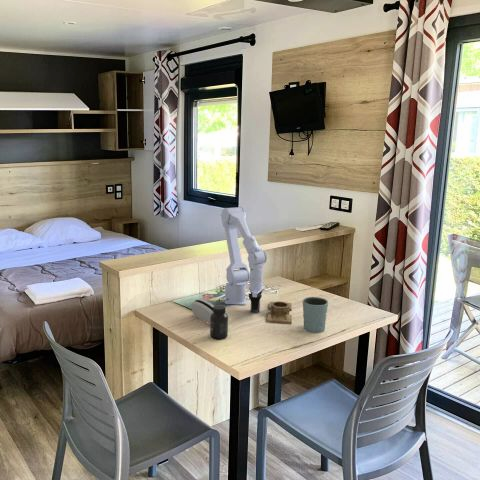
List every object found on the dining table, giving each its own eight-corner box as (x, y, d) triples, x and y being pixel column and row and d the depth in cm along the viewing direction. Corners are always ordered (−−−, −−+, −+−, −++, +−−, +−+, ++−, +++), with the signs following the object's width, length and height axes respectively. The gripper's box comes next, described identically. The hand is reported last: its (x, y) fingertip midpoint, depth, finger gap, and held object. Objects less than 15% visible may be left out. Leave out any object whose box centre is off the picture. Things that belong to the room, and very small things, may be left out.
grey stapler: (226, 324, 201) (220, 304, 197) (218, 330, 199) (211, 310, 195) (202, 312, 214) (196, 293, 209) (194, 318, 211) (187, 299, 207)
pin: (248, 313, 214) (249, 296, 213) (249, 309, 219) (250, 292, 218) (260, 314, 214) (261, 297, 212) (261, 309, 219) (262, 293, 217)
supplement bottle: (207, 334, 191) (207, 305, 188) (222, 331, 194) (223, 303, 191) (214, 341, 185) (215, 311, 182) (230, 338, 188) (231, 308, 186)
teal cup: (331, 331, 198) (333, 303, 195) (310, 335, 193) (312, 306, 190) (316, 322, 206) (318, 295, 204) (296, 326, 202) (297, 298, 199)
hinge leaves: (267, 322, 205) (267, 313, 204) (269, 303, 227) (270, 295, 226) (291, 323, 204) (291, 314, 203) (291, 305, 226) (291, 296, 225)
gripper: (264, 283, 206) (263, 314, 209) (266, 273, 220) (265, 302, 223) (247, 282, 206) (246, 312, 209) (250, 272, 221) (249, 301, 224)
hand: (255, 307), depth 216 cm, fingers closed on pin, 5 cm apart
